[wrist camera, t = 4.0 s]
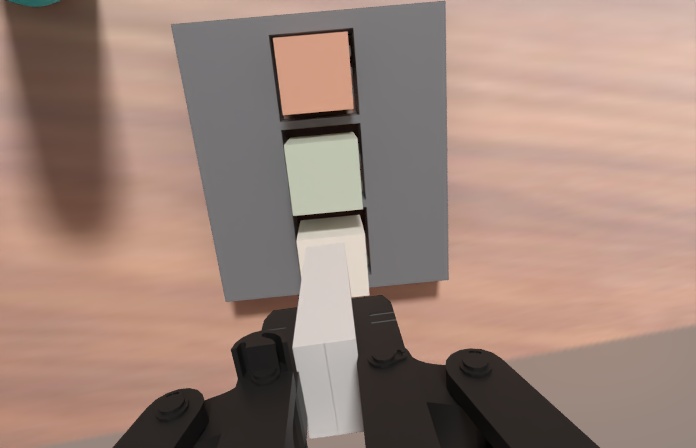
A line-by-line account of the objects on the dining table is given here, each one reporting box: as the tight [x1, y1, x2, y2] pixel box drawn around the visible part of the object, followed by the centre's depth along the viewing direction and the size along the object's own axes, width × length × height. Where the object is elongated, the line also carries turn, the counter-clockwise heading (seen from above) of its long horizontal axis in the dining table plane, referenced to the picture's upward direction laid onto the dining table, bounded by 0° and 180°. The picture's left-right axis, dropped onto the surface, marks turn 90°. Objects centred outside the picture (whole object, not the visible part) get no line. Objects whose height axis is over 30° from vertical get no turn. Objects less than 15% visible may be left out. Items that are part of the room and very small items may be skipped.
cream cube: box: [296, 215, 370, 297], centre depth 26 cm, size 4×4×4 cm
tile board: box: [171, 1, 449, 302], centre depth 28 cm, size 16×18×2 cm
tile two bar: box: [284, 132, 363, 216], centre depth 25 cm, size 4×4×4 cm
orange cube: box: [273, 31, 354, 115], centre depth 24 cm, size 4×4×4 cm
